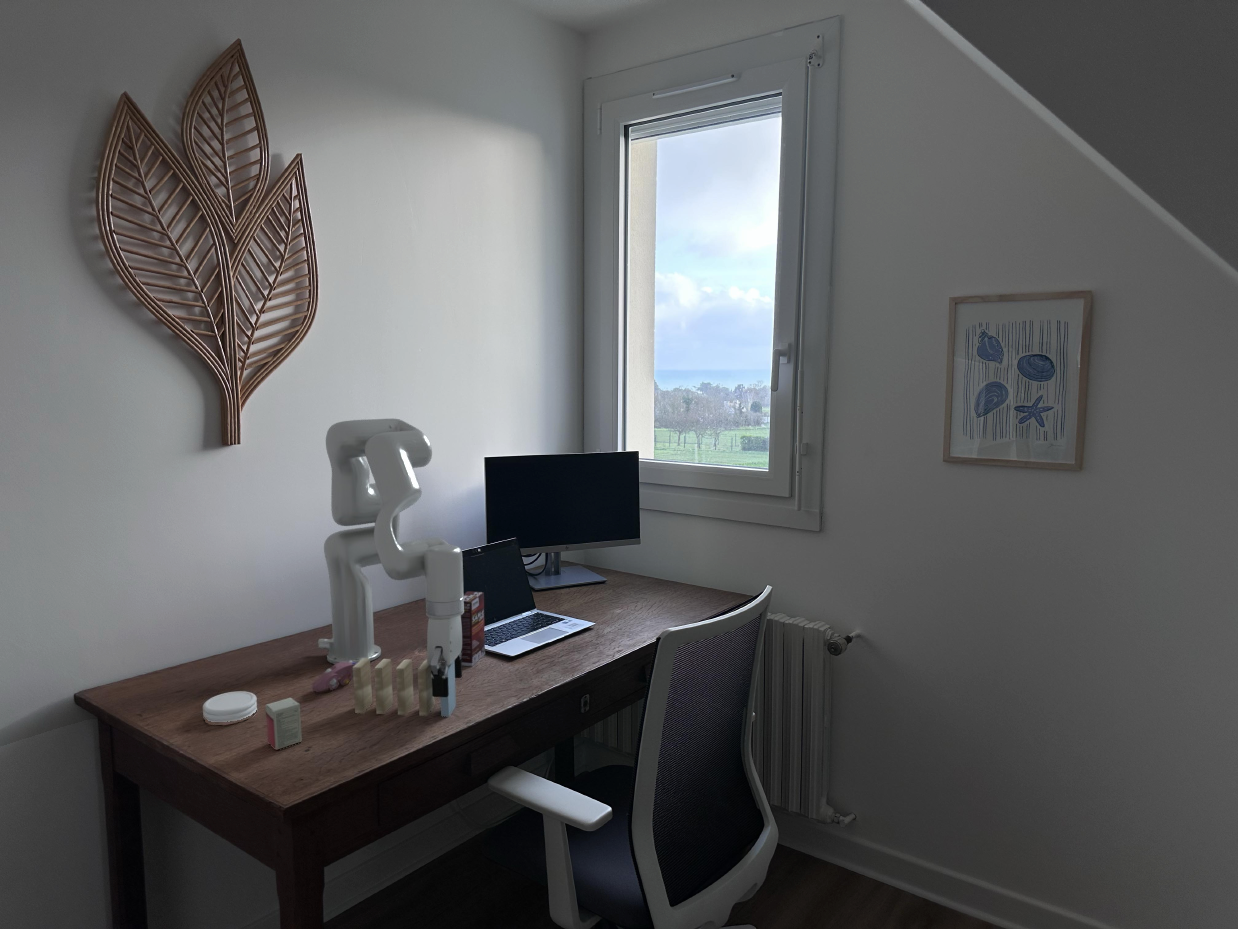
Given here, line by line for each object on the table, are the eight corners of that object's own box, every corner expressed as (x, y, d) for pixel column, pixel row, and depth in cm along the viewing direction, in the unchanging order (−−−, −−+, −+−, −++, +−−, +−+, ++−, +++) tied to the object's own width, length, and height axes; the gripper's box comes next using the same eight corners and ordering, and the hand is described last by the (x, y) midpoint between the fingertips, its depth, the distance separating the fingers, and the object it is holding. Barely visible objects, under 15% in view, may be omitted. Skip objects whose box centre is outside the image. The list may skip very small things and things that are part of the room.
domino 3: (397, 715, 165) (396, 668, 164) (406, 705, 170) (404, 659, 169) (405, 715, 165) (403, 668, 164) (413, 705, 170) (411, 659, 169)
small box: (293, 735, 156) (291, 696, 155) (302, 743, 153) (300, 703, 152) (266, 743, 153) (264, 704, 152) (275, 751, 150) (272, 711, 149)
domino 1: (355, 714, 166) (352, 667, 164) (364, 703, 171) (362, 658, 169) (362, 714, 166) (360, 667, 164) (372, 704, 171) (369, 658, 169)
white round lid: (253, 723, 162) (252, 707, 161) (198, 730, 159) (197, 713, 159) (260, 703, 171) (259, 688, 171) (208, 709, 169) (207, 693, 168)
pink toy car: (321, 702, 175) (330, 677, 173) (308, 689, 177) (317, 664, 175) (357, 686, 184) (366, 662, 181) (344, 674, 186) (353, 650, 183)
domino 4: (419, 716, 165) (417, 669, 163) (427, 705, 170) (425, 660, 168) (427, 716, 165) (425, 669, 163) (434, 705, 170) (433, 660, 168)
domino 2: (376, 714, 165) (374, 667, 164) (385, 704, 170) (383, 658, 169) (384, 714, 165) (382, 668, 164) (392, 704, 170) (390, 659, 169)
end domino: (441, 716, 164) (439, 669, 163) (448, 706, 169) (446, 660, 168) (448, 716, 164) (447, 669, 163) (455, 706, 169) (454, 660, 168)
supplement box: (473, 667, 191) (471, 602, 189) (454, 665, 192) (452, 600, 190) (486, 654, 199) (484, 591, 197) (468, 652, 200) (466, 590, 198)
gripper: (439, 593, 173) (442, 670, 175) (412, 619, 156) (416, 704, 158) (474, 594, 172) (476, 671, 174) (451, 620, 155) (453, 705, 157)
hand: (447, 686), depth 166 cm, fingers open, 9 cm apart
